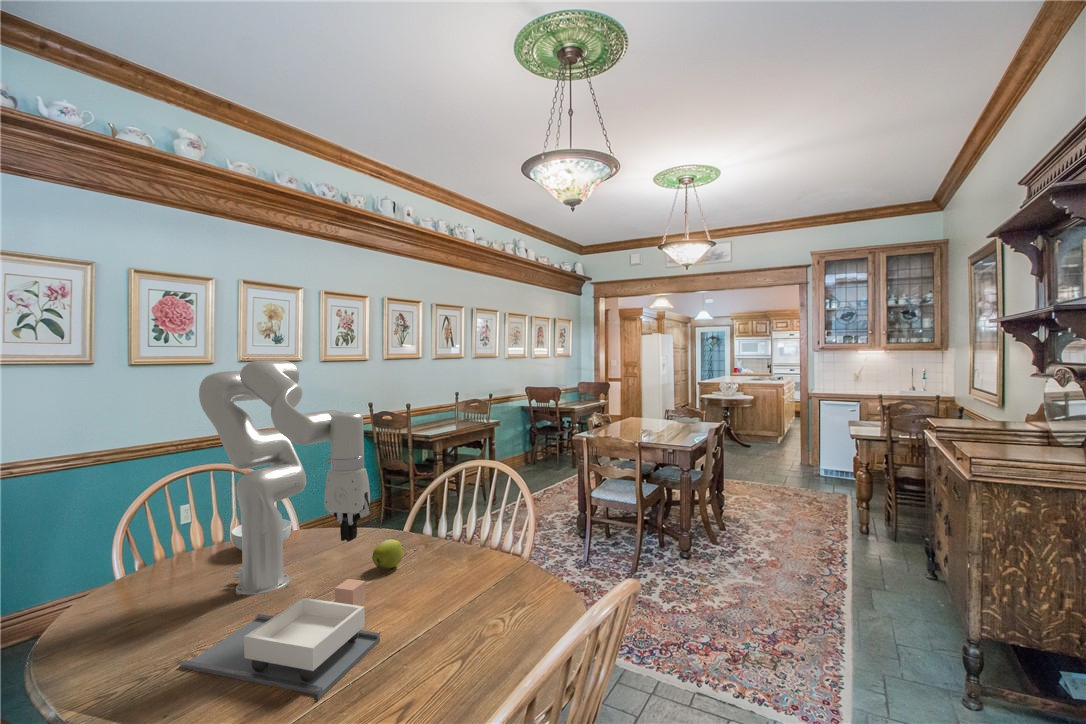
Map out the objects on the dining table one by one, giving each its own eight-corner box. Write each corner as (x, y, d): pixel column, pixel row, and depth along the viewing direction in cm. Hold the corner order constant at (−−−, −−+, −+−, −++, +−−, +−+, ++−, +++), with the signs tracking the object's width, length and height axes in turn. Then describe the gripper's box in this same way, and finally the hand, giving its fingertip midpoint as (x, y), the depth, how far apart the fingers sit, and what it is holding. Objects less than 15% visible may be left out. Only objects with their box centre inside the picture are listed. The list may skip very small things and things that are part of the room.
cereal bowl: (249, 563, 148) (248, 540, 148) (221, 552, 157) (220, 529, 157) (302, 544, 163) (302, 523, 163) (274, 535, 172) (273, 515, 171)
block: (335, 612, 119) (334, 588, 119) (348, 602, 124) (347, 578, 124) (353, 615, 118) (352, 590, 118) (365, 605, 123) (365, 581, 123)
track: (180, 672, 97) (180, 662, 97) (259, 621, 116) (258, 613, 116) (318, 700, 89) (318, 690, 89) (379, 641, 107) (379, 633, 107)
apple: (410, 565, 146) (409, 538, 146) (385, 576, 139) (385, 548, 138) (392, 559, 150) (391, 533, 150) (367, 570, 143) (366, 542, 143)
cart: (244, 672, 95) (244, 636, 95) (303, 628, 110) (303, 597, 110) (313, 686, 91) (312, 648, 91) (364, 638, 106) (364, 606, 106)
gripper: (310, 465, 119) (311, 542, 119) (365, 469, 115) (366, 548, 115) (331, 459, 126) (332, 531, 126) (384, 462, 122) (385, 536, 122)
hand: (348, 538), depth 121 cm, fingers closed
